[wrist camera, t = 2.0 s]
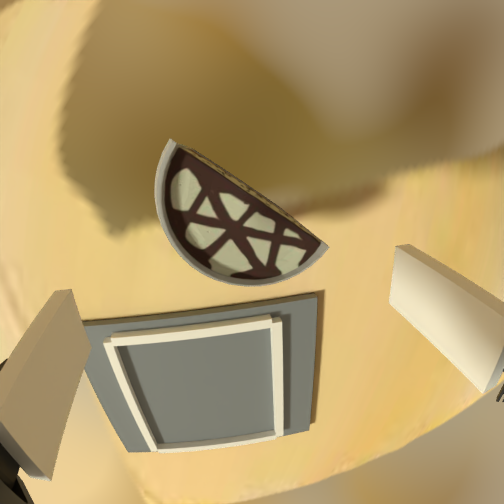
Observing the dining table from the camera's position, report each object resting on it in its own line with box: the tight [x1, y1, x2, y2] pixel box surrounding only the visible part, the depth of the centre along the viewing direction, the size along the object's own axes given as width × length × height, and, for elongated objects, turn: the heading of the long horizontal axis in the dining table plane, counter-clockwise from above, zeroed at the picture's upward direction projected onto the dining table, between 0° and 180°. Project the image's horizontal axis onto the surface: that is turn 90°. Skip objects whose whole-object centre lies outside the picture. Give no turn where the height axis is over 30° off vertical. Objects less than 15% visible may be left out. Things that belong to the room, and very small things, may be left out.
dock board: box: [82, 293, 317, 453], centre depth 34 cm, size 26×22×2 cm
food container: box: [155, 139, 329, 286], centre depth 23 cm, size 12×6×10 cm, turn 54°
